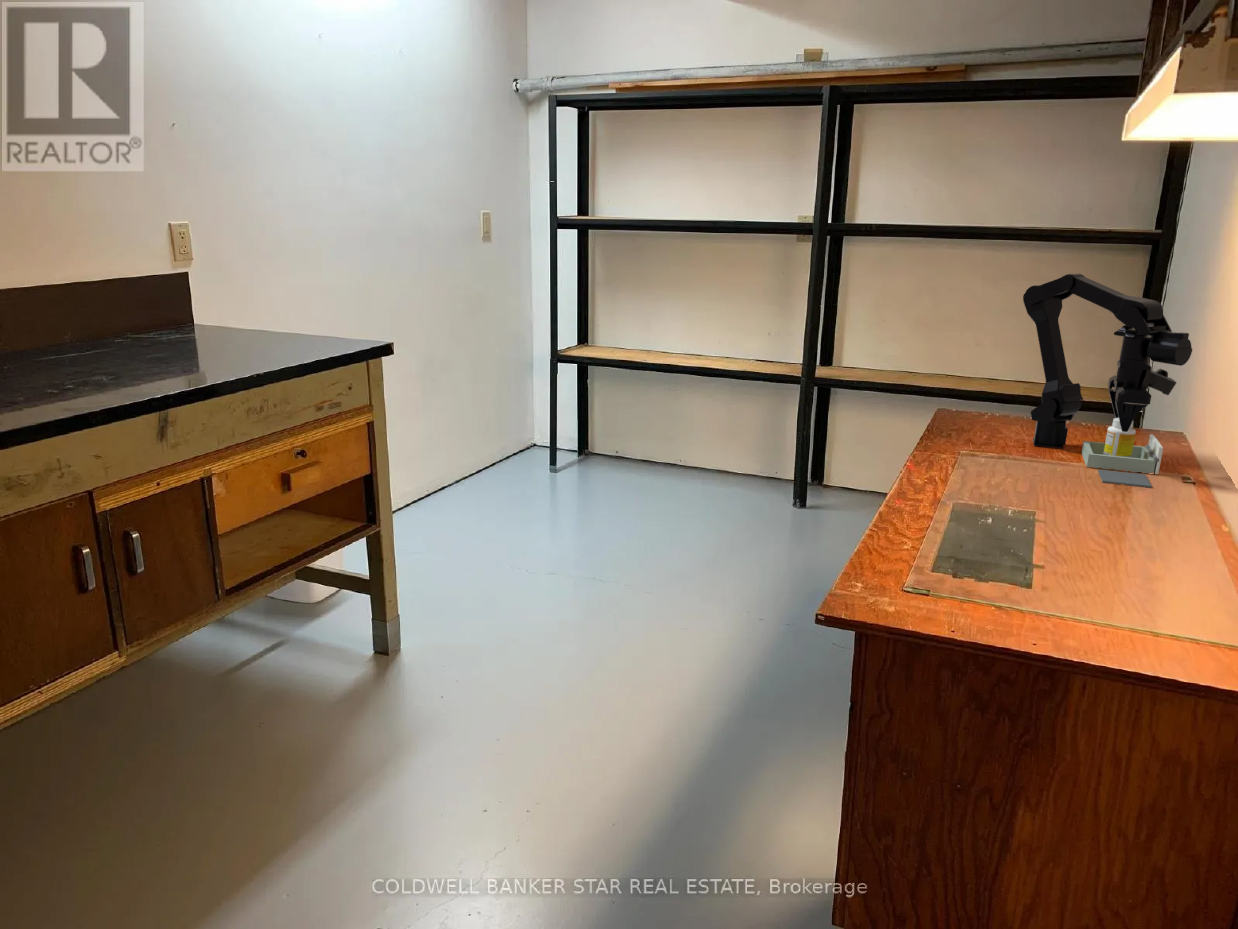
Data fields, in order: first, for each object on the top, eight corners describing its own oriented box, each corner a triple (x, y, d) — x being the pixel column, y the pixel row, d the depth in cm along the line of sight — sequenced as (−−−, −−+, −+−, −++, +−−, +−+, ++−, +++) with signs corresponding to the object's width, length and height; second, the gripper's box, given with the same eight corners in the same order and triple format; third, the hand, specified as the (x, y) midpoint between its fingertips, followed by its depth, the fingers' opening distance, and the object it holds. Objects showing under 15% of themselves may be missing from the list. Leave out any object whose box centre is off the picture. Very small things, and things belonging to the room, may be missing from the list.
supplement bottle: (1133, 463, 195) (1142, 420, 192) (1123, 468, 191) (1132, 423, 189) (1108, 458, 199) (1115, 415, 196) (1097, 462, 196) (1105, 419, 193)
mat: (1102, 482, 181) (1102, 480, 181) (1097, 471, 189) (1098, 469, 189) (1151, 487, 178) (1151, 486, 178) (1144, 476, 186) (1144, 474, 186)
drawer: (1086, 467, 192) (1091, 441, 190) (1081, 452, 203) (1085, 428, 202) (1158, 474, 187) (1163, 448, 185) (1148, 459, 198) (1153, 434, 197)
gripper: (1185, 368, 177) (1170, 440, 182) (1169, 354, 194) (1156, 421, 198) (1124, 363, 181) (1111, 435, 186) (1113, 351, 198) (1101, 416, 202)
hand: (1121, 426), depth 193 cm, fingers open, 9 cm apart
